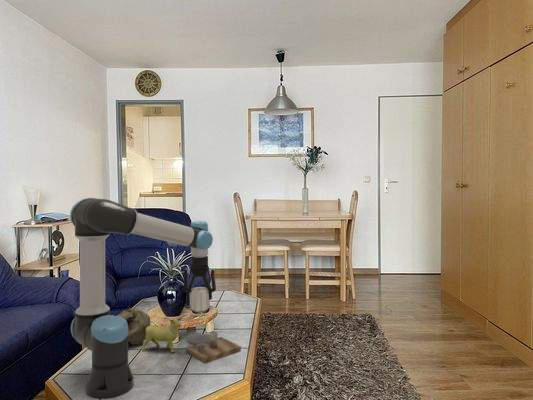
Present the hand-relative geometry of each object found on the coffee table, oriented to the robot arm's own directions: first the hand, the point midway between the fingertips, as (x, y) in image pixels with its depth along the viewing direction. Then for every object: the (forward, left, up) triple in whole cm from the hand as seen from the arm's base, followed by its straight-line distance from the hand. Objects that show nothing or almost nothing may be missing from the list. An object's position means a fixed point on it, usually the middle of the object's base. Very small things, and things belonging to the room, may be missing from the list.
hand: (199, 306), depth 186 cm
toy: (-18, 0, -15) cm, 24 cm away
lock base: (-3, -15, -15) cm, 22 cm away
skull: (-25, +17, -15) cm, 34 cm away
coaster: (0, 0, -15) cm, 15 cm away
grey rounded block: (0, 0, -1) cm, 1 cm away
